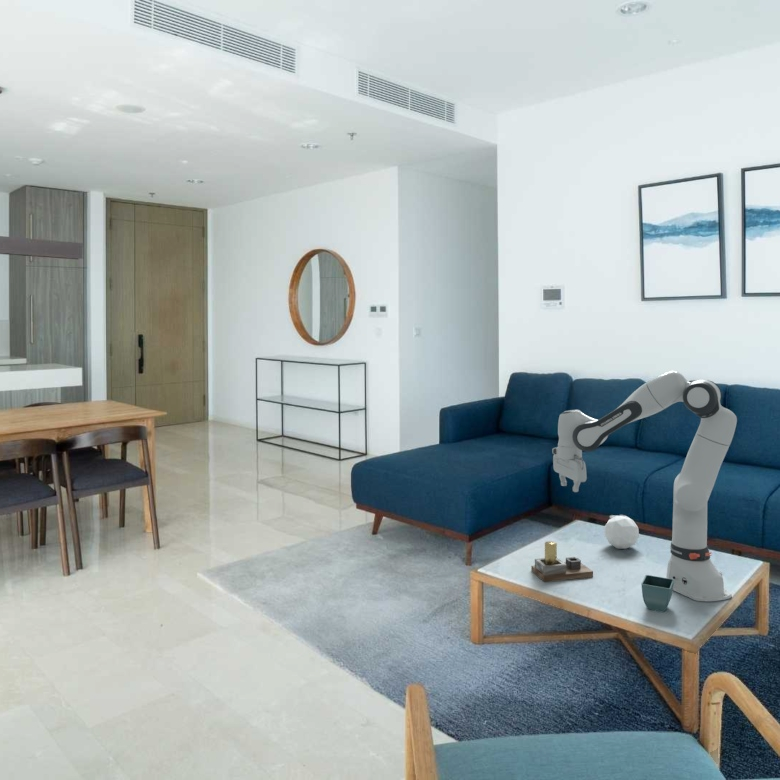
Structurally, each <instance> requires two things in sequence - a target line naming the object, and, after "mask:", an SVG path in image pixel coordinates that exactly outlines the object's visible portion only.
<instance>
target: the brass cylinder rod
mask: <svg viewBox="0 0 780 780" xmlns="http://www.w3.org/2000/svg"><path fill="white" fill-rule="evenodd" d="M557 545H558V544H557V542H555V541H551V540H550V541H548V540H547V541H545V542H544V558H545V565H556V564H557V558H558V557H557V556H558V554H557V549H558V548H557V547H558V546H557Z"/></svg>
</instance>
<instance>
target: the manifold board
mask: <svg viewBox="0 0 780 780" xmlns="http://www.w3.org/2000/svg"><path fill="white" fill-rule="evenodd" d="M581 561H582V560H581V559H580V558H578V557H575V556H572V557H565V561H563V560H560V558H558V557H557V564H556V565H545V557H541V558H534V565H531V567H530V568H531V569H530V571H531V573H533V574H534V575H535V576H537V577H538V578H539V579H540V580H542V582H544V583H547V582H557V581H565V580H576V579H584V578H585V579H586V578H592V577H594V571H593V570H592V569H591V568H589V567H587V566H586V565H585V564H584V563H582V562H581Z"/></svg>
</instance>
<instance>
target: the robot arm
mask: <svg viewBox="0 0 780 780" xmlns="http://www.w3.org/2000/svg"><path fill="white" fill-rule="evenodd" d="M722 397H723V395H722V390H721V388H720V386H719V385H718V384H717V383H715V382H714V381H711V380H709V379H698V380H697V379H696V380H694V379H693V380H689V381H688V380H687V379H686V377H684V375H683V374H682V373H680V372H679V371H676V370H670V371H667V372H665V373H662V374H660V375H658V376H655V377H654V378H652V379H650V380H648V381H646V382H645V383H643V384H642V385H641V386H639V387H638V388H637V389H635V390H634V391H633V392H632V393H631V394H630V395H629V396H628V397H627V398H626V399H625V400H624V401H623V402H622V403H621V404H620V405H619V406H618V407H617V408H615V409H614V410H612V411H611V412H609V413H607V414H606V415H604V416H603V417H601V418H598V419H597V418H593V417H591V416H589V415H587V414H585V413H584V412H582V411H581V410H580V409H570V410H569V409H568V410H565V411H562V412H561V413H560V414H559V417H558V423H557V435H558V441H557V442H558V443H557V446H556V447H553V448H552V449H551V450H552V451H551V452H552V454H553V456H552V463H553V465H552V466H553V467H552V468H553V471H554V472H555V473H557V474H558V475H559V476H558V477H559V480H560V486H562V487H567V485H568V484H567V483H568V481H567V479H566V478H568V479H570V480H572V481H573V486H572V492H574V493H578V492H579V491H580V490H579V489H580V485H581V483H585V482H586V481H587V479H588V476H587V466H586V462H585V461H584V459H583V452H587V453H588V452H593V451H595V450H597V448H598V447H599V446H600V445H602V444H603V443H604V442H605V441H606V440H607V439H608V437H609V436H610V434H612V433H614V432H616V431H617V430H619V429H621V428H622V427H624V426H626V425H628V424H631V423H633V422H636V421H638V420H641V419H644V418H648V417H651V416H653V415H655V414H658V413H660V412H662V411H663V410H666V409H667V408H669V407H670V406H672V405H674V404H676V403H679V402H682V403H683V404H684V405H685V408H687V409H688V410H689V411H691V412H692V413H693V414H695V415H696V416H697V417H699V418H700V423H699V426H698V427H697V430H696V433H695V435H694V437H693V440H692V442H691V444H690V447H689V449H688V451H687V454H686V455H685V456H686V457H685V458H684V462H683V465H682V466H681V467H682V468H681V470H680V472H679V473H678V474H677V476H676V477H675V479H674V482H673V490H672V491H673V493H672V494H673V496H672V497H673V498H672V499H673V501H672V504H673V506H672V533H671V534H672V535H671V537H672V539H671V542H670V546H669V547H670V548H669V549H670V553H671V555H670V559H669V560H668V563H667V570H666V577H665V578H669V579H674V584H673V591H674V592H676V593H679V594H681V595H682V596H685V597H687V598H690V599H691V600H693V601H696V602H719V601H725V600H728V599H730V598H732V593H731V592H730V591H729V590H728V589H726V588H725V585H724V577H723V573H722V572H721V571H719V570H718V569H717V567H716V566H715V564H714V563H713V561H712V560H711V556H713V553H712V552H710V549H709V546H708V545H707V544H708V541H707V539H708V501H709V499H710V496H711V494H712V491H713V489H714V486H715V484H716V480H717V477H718V475H719V471H720V469H721V466H722V464H723V461H724V460H725V457H726V455H727V452H728V451H729V447H730V446H731V444H732V441H733V438H734V435H735V432H736V427H737V423H738V418H737V415H736V414H735V413H734V412H733V411H732V410H730V409H728V408H726V407H724V406H722V405H721V404H722V403H721V401H722Z"/></svg>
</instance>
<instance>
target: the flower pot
mask: <svg viewBox="0 0 780 780" xmlns="http://www.w3.org/2000/svg"><path fill="white" fill-rule="evenodd" d="M673 584H674V579H669V578H666V577H661V576H655V575H649V574H645V576H644V578H643V580H642V582H641V593H642V600H643V603H644V605H645V607H646V609H648V610H651V611H652V610H653V611H656V612H663V613H664V612H666V610H667V608H668V607H669V605H670V602H671V598H672V596H673V591H674V590H673Z"/></svg>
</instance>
